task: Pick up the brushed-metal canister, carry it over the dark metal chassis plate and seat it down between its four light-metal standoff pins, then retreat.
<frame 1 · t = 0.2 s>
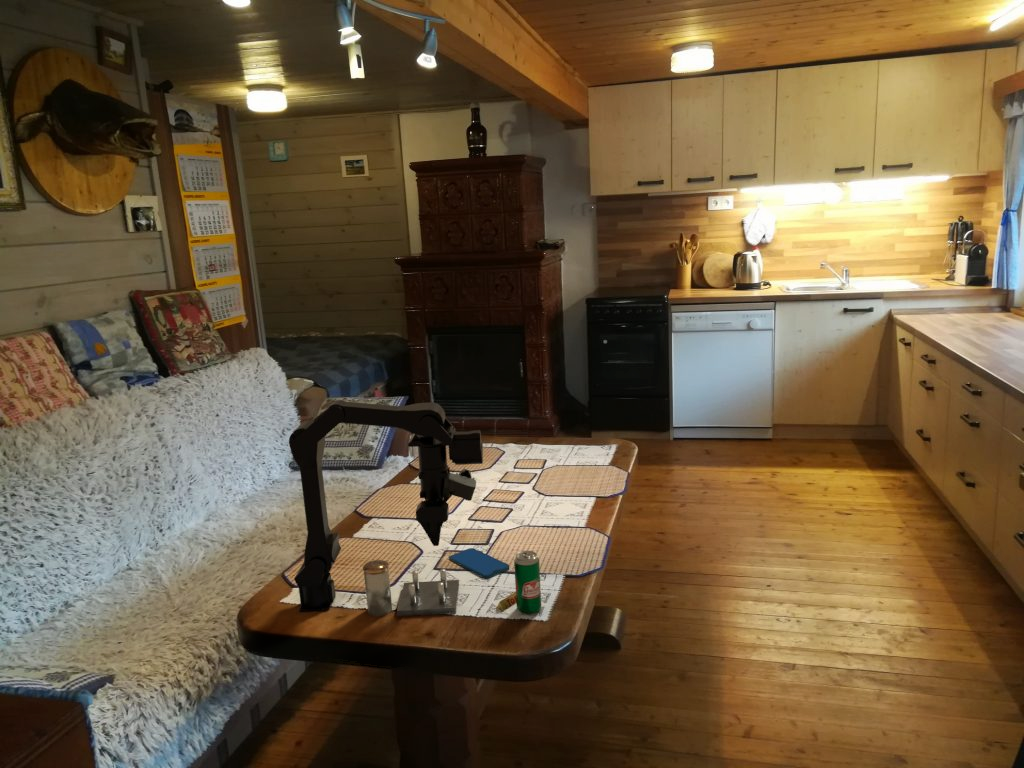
hand: (437, 536, 159), 14 cm above the table, fingers open, 9 cm apart
chassis: (429, 599, 162), on the table
soda can: (529, 610, 156), on the table
smartphone: (478, 565, 177), on the table
chocolate bar: (519, 600, 161), on the table
canister: (380, 609, 159), on the table
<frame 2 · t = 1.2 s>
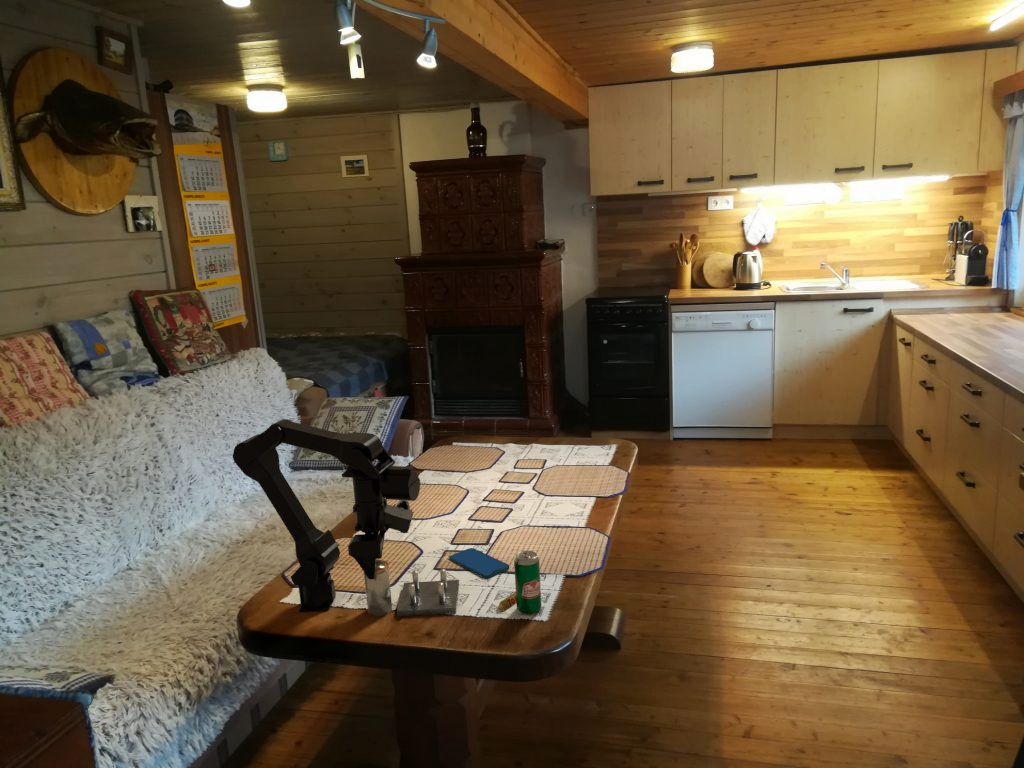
hand: (375, 568, 157), 9 cm above the table, fingers open, 9 cm apart
nothing on the table moved.
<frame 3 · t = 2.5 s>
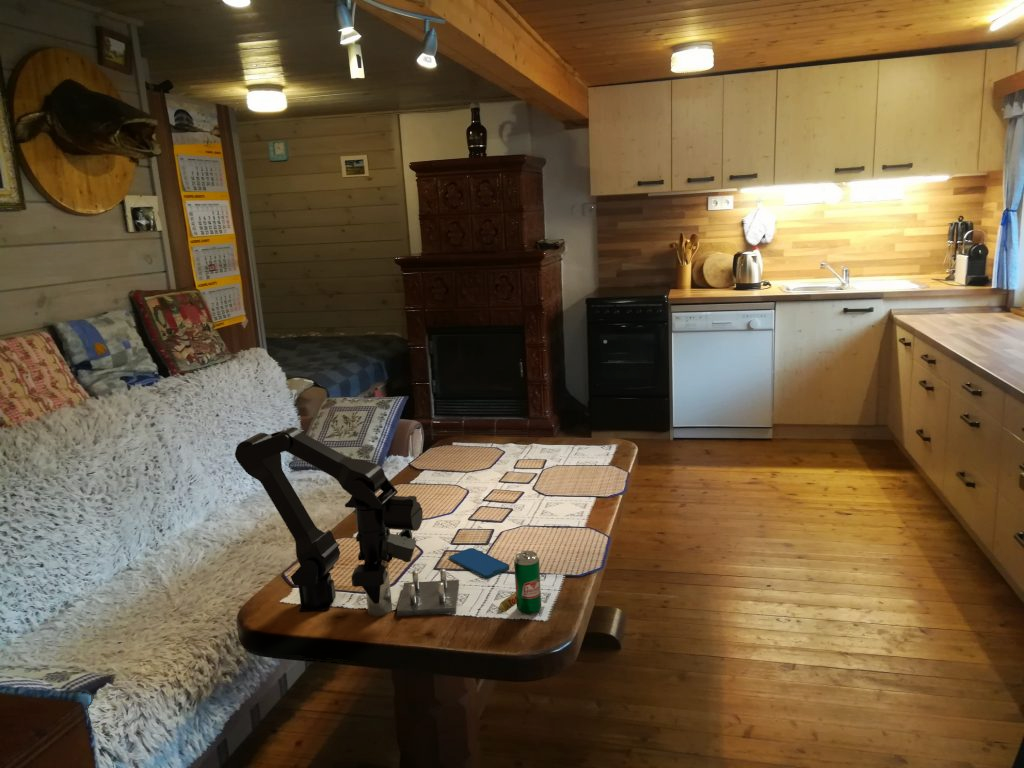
hand: (378, 596, 158), 3 cm above the table, fingers closed on canister, 5 cm apart
canister: (380, 609, 159), on the table, touching gripper
everything else where it was.
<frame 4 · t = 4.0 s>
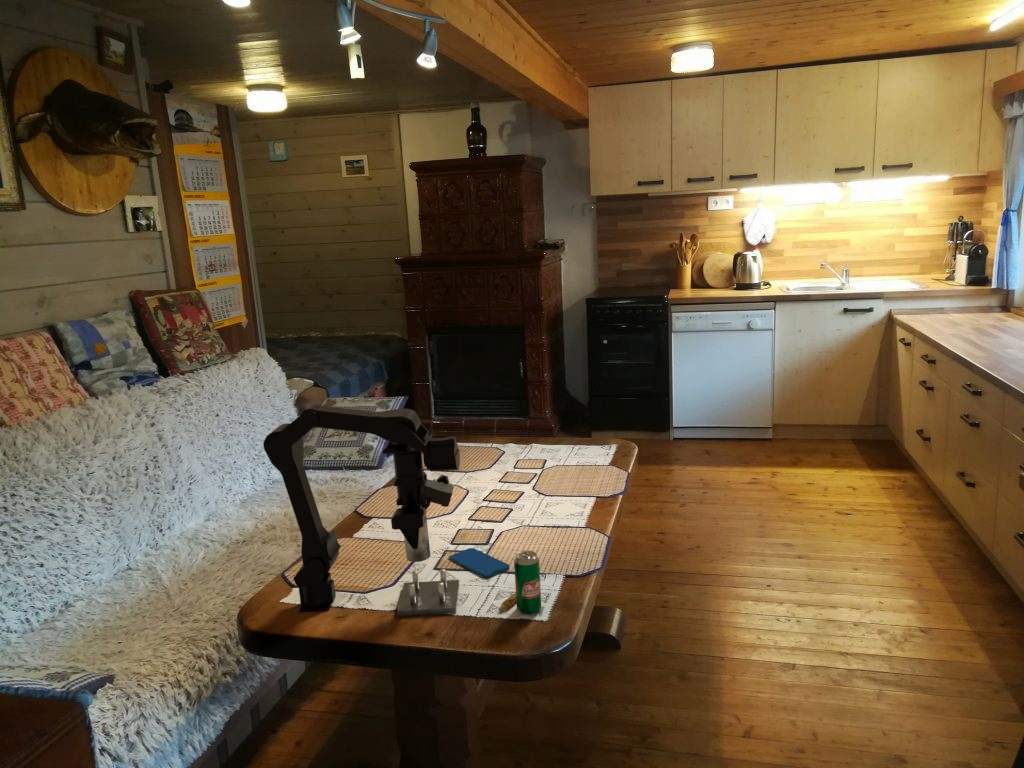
hand: (416, 543, 158), 13 cm above the table, fingers closed on canister, 5 cm apart
canister: (418, 556, 159), point 10 cm above the table, touching gripper
everything else where it was.
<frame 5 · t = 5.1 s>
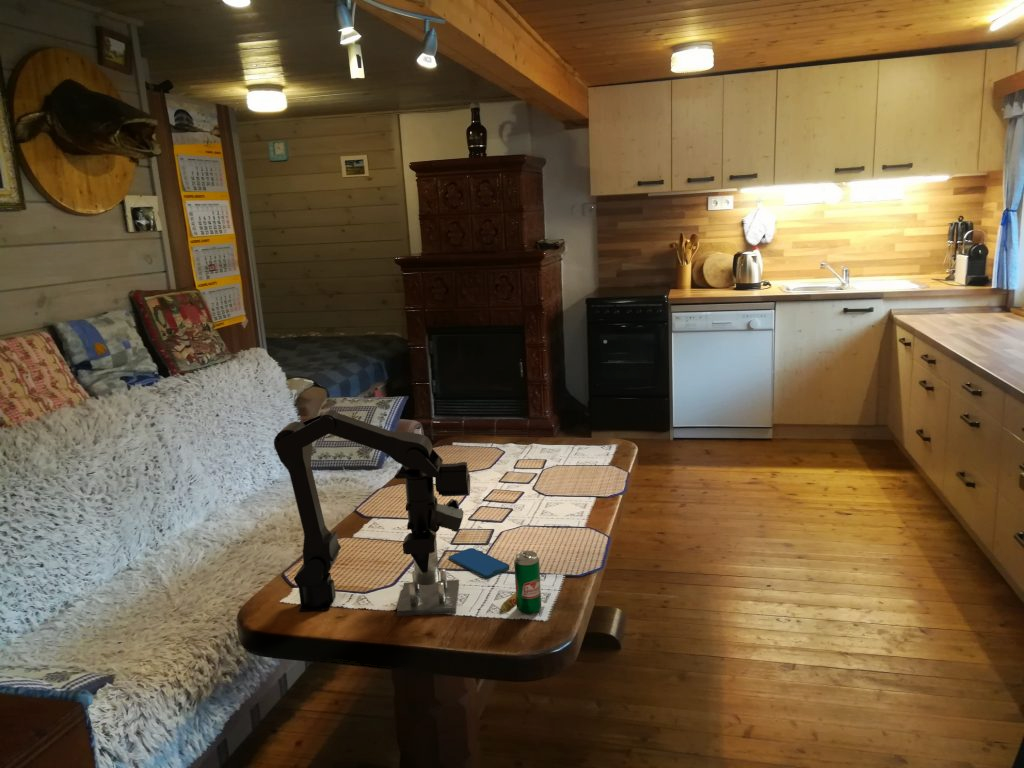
hand: (426, 566, 160), 8 cm above the table, fingers closed on canister, 5 cm apart
canister: (427, 579, 161), point 5 cm above the table, touching gripper
everything else where it was.
when the fingers open (6 cm above the table, at t = 5.9 s): canister drops 2 cm, resting on chassis.
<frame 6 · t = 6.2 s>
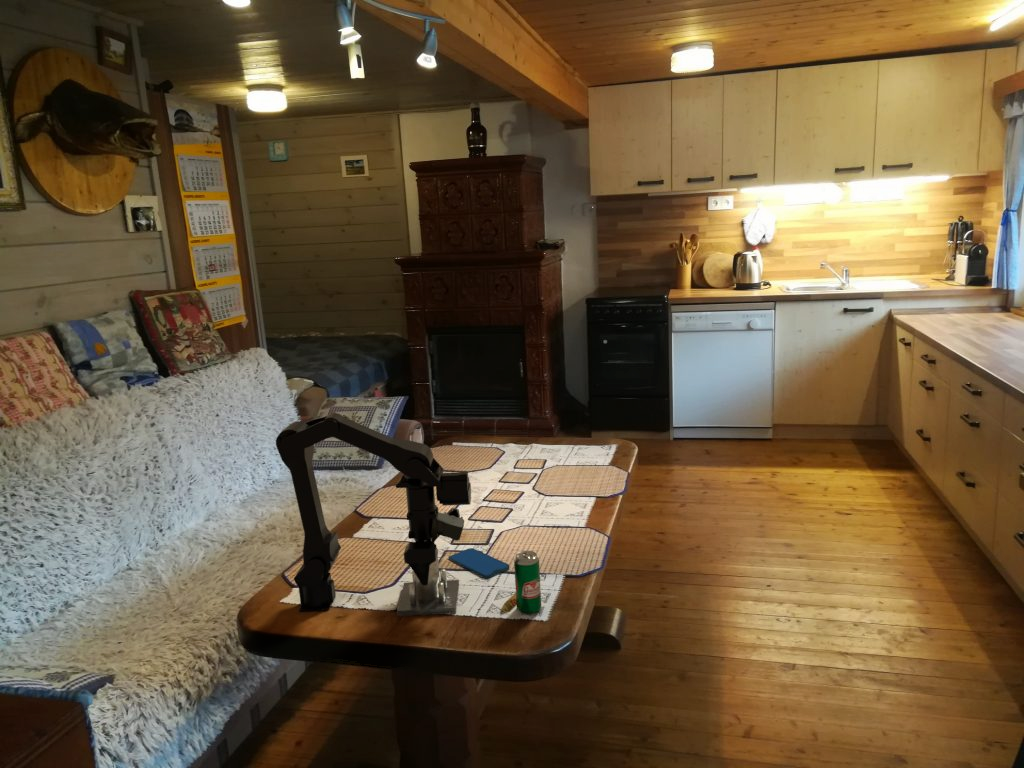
hand: (427, 575, 160), 6 cm above the table, fingers open, 8 cm apart
canister: (428, 594, 161), point 1 cm above the table, touching chassis
everything else where it was.
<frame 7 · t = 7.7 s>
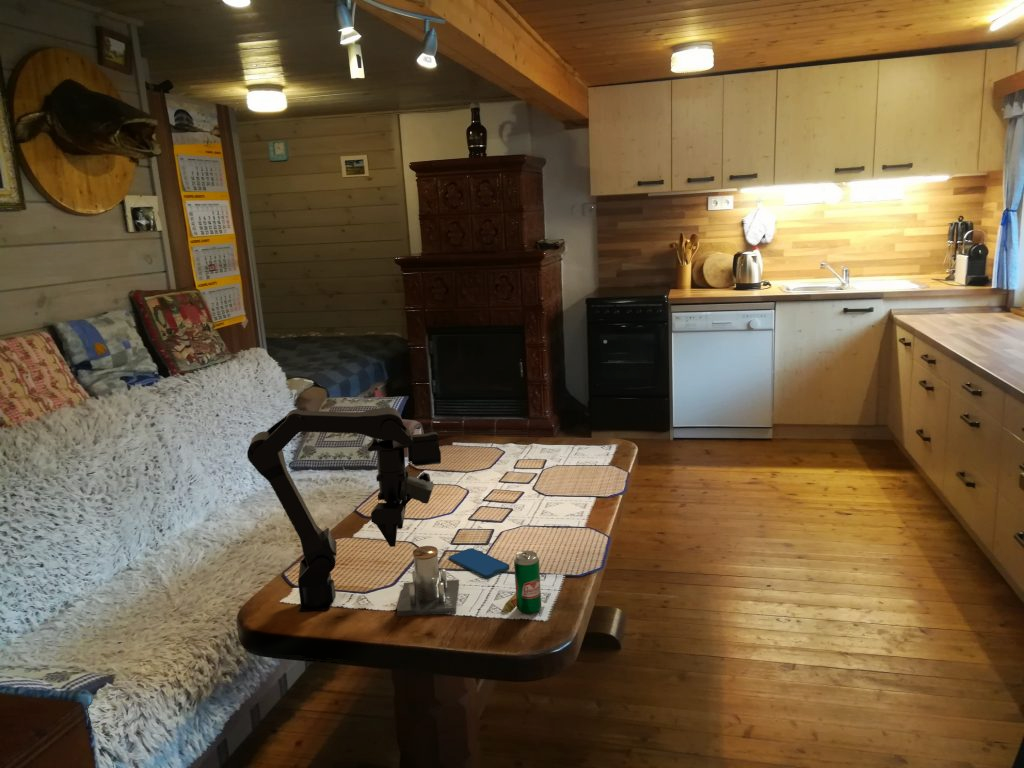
hand: (396, 537, 163), 13 cm above the table, fingers open, 9 cm apart
nothing on the table moved.
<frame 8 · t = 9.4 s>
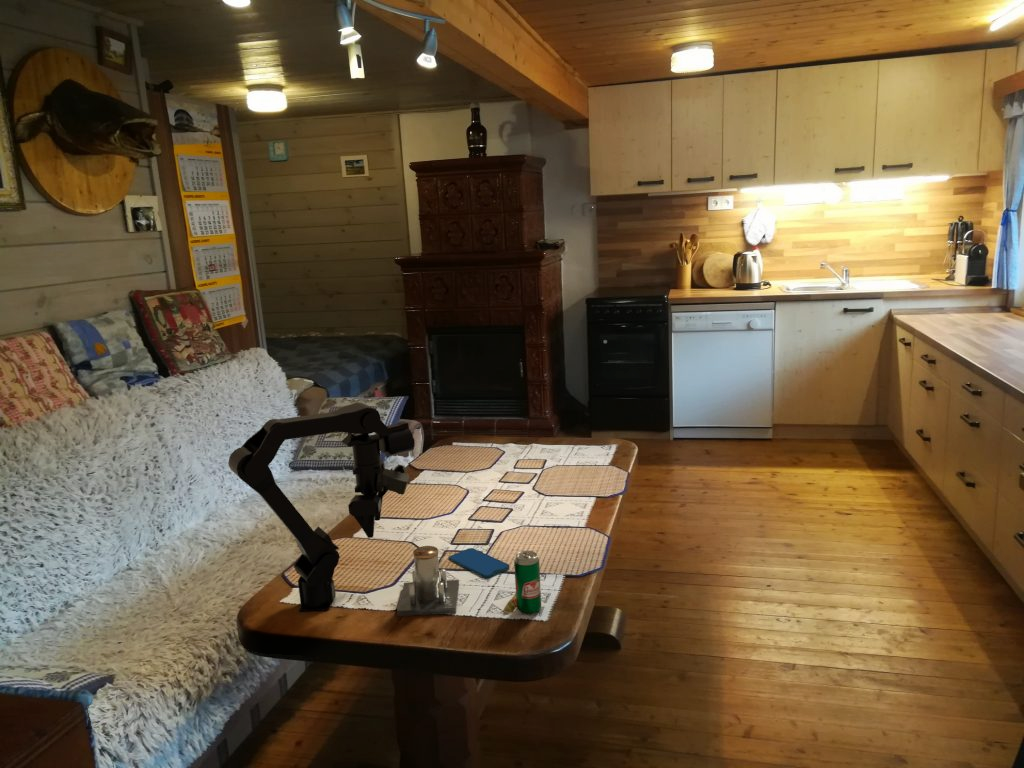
hand: (374, 528, 167), 13 cm above the table, fingers open, 9 cm apart
at the end: canister 0.0 cm from the chassis (horizontally); canister point 1.2 cm above the table; canister tilted 1° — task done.
